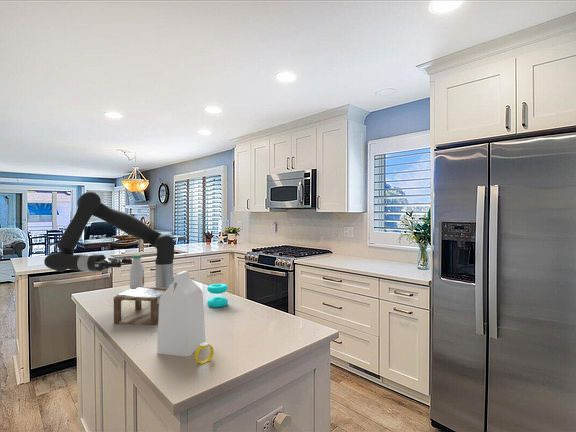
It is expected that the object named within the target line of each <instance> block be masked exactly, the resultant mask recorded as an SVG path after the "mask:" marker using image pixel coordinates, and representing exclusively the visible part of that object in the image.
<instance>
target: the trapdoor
mask: <svg viewBox="0 0 576 432" xmlns="http://www.w3.org/2000/svg"><path fill="white" fill-rule="evenodd" d="M164 292H165V291H162V290H155V289H148V288H141V287H139V288H137V289H130V288H129V289H127V290H124V291H122V292H120V293H117V295H116V296H131V297H158V299H160V296H161V295H162V294H163V293H164ZM122 301H124V300H121V302H122Z"/></svg>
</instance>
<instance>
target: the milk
mask: <svg viewBox="0 0 576 432" xmlns="http://www.w3.org/2000/svg"><path fill="white" fill-rule="evenodd" d="M174 275H175V276H174V282H173V283H172V284H171V285H170V286H169V288H168V289H167V290H166V291H165V292H164V293H163V294H162V295H161V296H160V298H158V300H159V302H158V304H159V319H158V323H157V341H156V343H157V345H156V348H157V349H156V354H159V355H168V356H177V357H187V356H189V357H190V356H192V355H193V354H194V353H195V352H196V350H197V348H198V347H199V346H200V343H202V342H207V341H206V340H207V339H206V330H205V327H206V325H205V309H204V293H203V291H202V289H201V288H200V287H199V286H198V285H197V283H196V282H194V281H193V279H191V278H190V274H189V270H183V271H181V272H177V273H175V274H174ZM194 351H195V352H194ZM193 352H194V353H193ZM192 353H193V354H192Z"/></svg>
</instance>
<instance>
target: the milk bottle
mask: <svg viewBox="0 0 576 432" xmlns="http://www.w3.org/2000/svg"><path fill="white" fill-rule="evenodd" d="M141 260H142V256H141V254H135V255H134V254H133V255H132V263H131V264H130V265H131V266H130V269H129V289H130V288H131V289H135V288H136V287H145V269H144V265H143V263H142V261H141Z"/></svg>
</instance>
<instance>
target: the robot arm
mask: <svg viewBox="0 0 576 432" xmlns="http://www.w3.org/2000/svg"><path fill="white" fill-rule="evenodd" d="M76 205H77V209H76V212H75V214H74V216H73V218H72V219H71V220H70V222H69V224H68V226H66V228H65V230H64V232H63V233H62V235H61V237H60V239H59V241H58V243H57V245H56V247H57V249H59V251H60V252H52V253H50V254H48V255H47V256H46V257H45V258H44V261H43V262H44V265H45V266H46V268H48V269H50V270H53V271H56V272H60V273H63V272H65V271H67V270H70V271H82V272H102V271H104V270H105V269H111V268H121V267H122V265H132V263H133V258H126V257H107V258H106V256H105V255H104V254H98V253H97V254H95V253H93V254H92V253H90V254H88V253H87V254H74V253H75V249H76V246H77V245H78V243H79V241H80V239H81V238H82V237H81V236H82V235H83V232H84V231H85V228H86V227H87V224H88V223H89V221H90V219H91V217H92V216H93V217H96V218H98V219H100V220H103V221H104V222H106V223H107V224H109V225H111V226H113V227H114V228H116V229H118V230H119V231H121V232H124V233H125V234H128V235H129V236H132V237H134V238H137V239H140V240H142V241H144V242H146V243H148V244H149V245H151V246H152V247H154V248H155V249H156V258H155V261H154V262H155V288H169V286H170V285H171V284H172V283H173V282H174V279H175V276H174V258H175V241H174V239H173V237H172V236H170V235H168V234H163V233H160V232H159V231H156V230H154V229H152V228H151V227H149V226H148V225H147V224H146V223H145V222H143V221H141V220H140V219H138V218H137V217H135V216H133V215H131V214H130V213H127V212H125V211H121V210H118V209H115V208H111V207H110V206H108V205H106V204H104V203H103V202H102V199H101V197H100V195H99V194H98V193H96V192H95V191H87V192H84V193H82V195H80V197H79V198H78V199H77V202H76Z"/></svg>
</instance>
